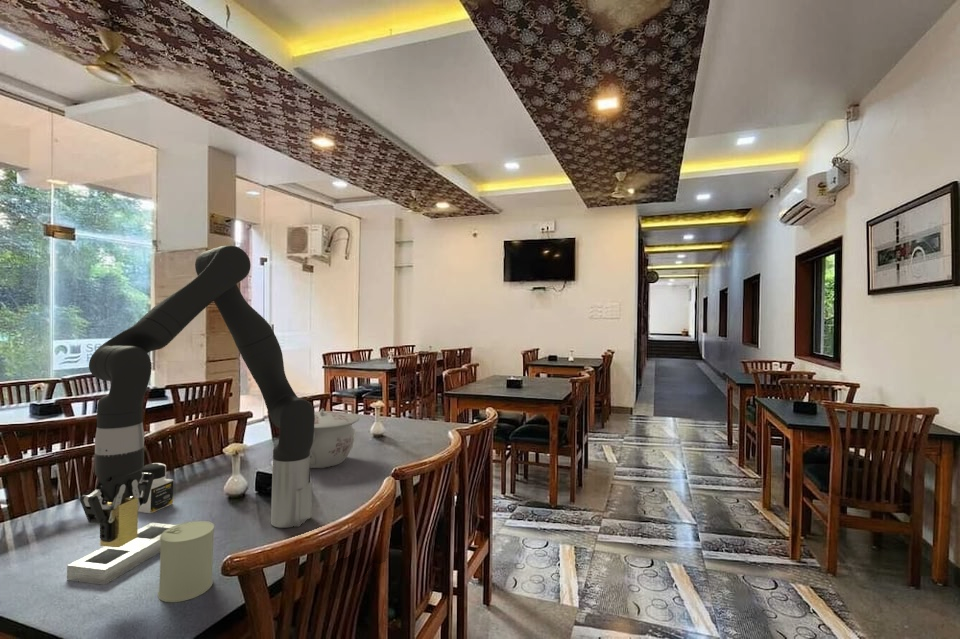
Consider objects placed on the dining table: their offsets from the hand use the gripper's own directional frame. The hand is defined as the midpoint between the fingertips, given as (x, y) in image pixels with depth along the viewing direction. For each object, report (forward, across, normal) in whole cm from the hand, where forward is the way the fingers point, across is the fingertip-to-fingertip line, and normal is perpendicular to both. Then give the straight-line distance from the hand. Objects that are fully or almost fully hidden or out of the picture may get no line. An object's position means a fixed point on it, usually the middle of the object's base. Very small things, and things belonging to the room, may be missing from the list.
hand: (119, 534), depth 88 cm
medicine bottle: (+12, +36, +27) cm, 47 cm away
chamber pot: (+13, +83, +1) cm, 84 cm away
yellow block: (+1, 0, 0) cm, 1 cm away
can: (+12, +4, -11) cm, 17 cm away
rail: (+11, +12, +10) cm, 19 cm away
